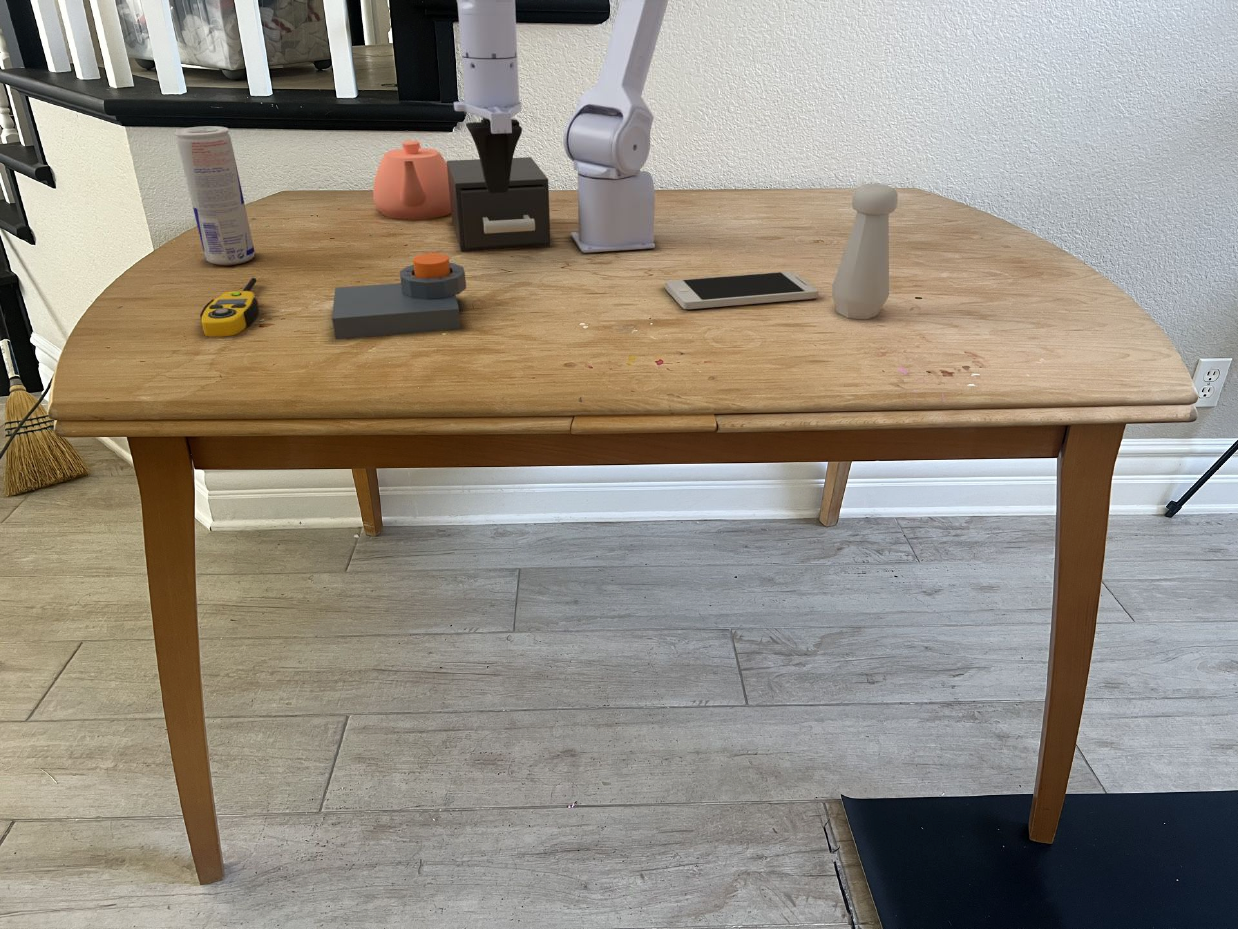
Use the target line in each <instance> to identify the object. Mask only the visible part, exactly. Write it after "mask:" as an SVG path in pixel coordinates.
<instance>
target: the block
mask: <svg viewBox="0 0 1238 929" xmlns="http://www.w3.org/2000/svg"><path fill="white" fill-rule="evenodd" d="M449 266H450V274H449V275H447V276H444V277H440V278H419V277H416V276H415V273H414V264H411V265H407V266H405V267H404V268H403V269H401V270H399V277H400V282H398V283H397V282H396V283H384V284H383V283H382V284H368V285H354V286H352V285H351V286H340V287H335V288H334V295H333V304H332V305H333V306H332V315H331V321H332V326H333V332H334V338H335V340H342V339H343V340H344V339H345V340H346V339H354V338H368V337H369V338H370V337H379V336H391V335H404V334H416V333H417V334H418V333H428V332H438V331H439V332H440V331H452V330H461V329H462V328H461V326H462V325H461V317H460V308H459V303H458V300H457V295H460V294H461V293H462V292H463V291H465V290H466V289H467V280H466V271H465V267H464V266H462V265H459V264H457V263H454V262H449Z"/></svg>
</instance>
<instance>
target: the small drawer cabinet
mask: <svg viewBox="0 0 1238 929" xmlns="http://www.w3.org/2000/svg"><path fill="white" fill-rule="evenodd" d="M446 163H447V172H448V183H449V194H450V205H451V213H450V215H451V224H452V228H453V231H454V234H455V237H456V240H457V244H458V247H459V250H460V252H461V253H465V252H466V253H467V252H481V251H496V250H511V249H512V250H513V249H527V248H529V249H530V248H542V247H544V248H545V247H551V221H550V220H551V219H550V186H549V178H548V177H547V176H546V174H545V173H544V172H543V170H542V169H541V167H539V165H538V164H537V163H536V162H535V160H534V159H533V157H531V156H525V157H524V156H523V157H513V160H512V166H511V174H510V182H509V186H529V185H537V187H540V186H544V187H545V190H546V219H547V243H533V244H517V245H501V246H485V247H470V248H466V246H465V237H464V225H463V213H462V202H461V189H467V188H487V187H486V183H485V180H484V176H483V171H482V167H481V162H480V158H478V159H476V158H475V159H456V160H454V159H453V160H452V159H451V160H446Z"/></svg>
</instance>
